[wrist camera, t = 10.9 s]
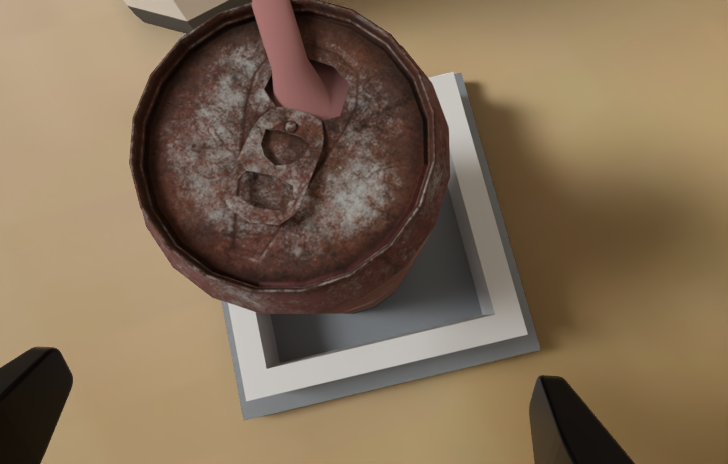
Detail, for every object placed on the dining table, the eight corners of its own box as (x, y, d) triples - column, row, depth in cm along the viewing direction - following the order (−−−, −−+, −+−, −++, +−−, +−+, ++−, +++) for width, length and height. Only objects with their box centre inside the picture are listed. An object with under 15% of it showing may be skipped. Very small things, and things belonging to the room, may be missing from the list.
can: (387, 156, 23) (390, -78, 9) (431, 290, 22) (507, 251, 8) (260, 195, 23) (73, 18, 9) (297, 331, 22) (149, 361, 8)
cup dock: (533, 348, 22) (561, 354, 19) (249, 415, 22) (225, 434, 19) (458, 82, 25) (470, 44, 21) (199, 144, 25) (168, 116, 21)
